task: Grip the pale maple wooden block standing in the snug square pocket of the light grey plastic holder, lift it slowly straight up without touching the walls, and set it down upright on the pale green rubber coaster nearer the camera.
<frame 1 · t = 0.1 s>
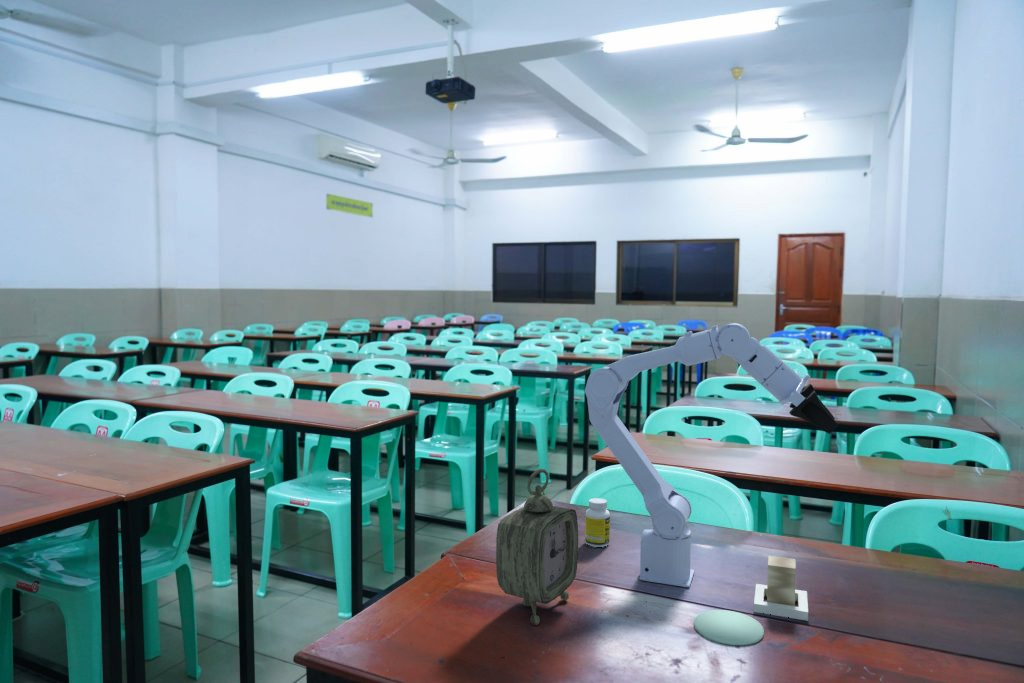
hand: (832, 425, 120), 32 cm above the table, tool tilted 50°, fingers open, 7 cm apart
supplement bottle: (597, 544, 151), on the table
tabletop clock: (536, 609, 120), on the table
lemon: (543, 530, 160), on the table
coaster: (728, 628, 113), on the table
maple block: (781, 583, 121), in the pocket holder
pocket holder: (780, 605, 121), on the table
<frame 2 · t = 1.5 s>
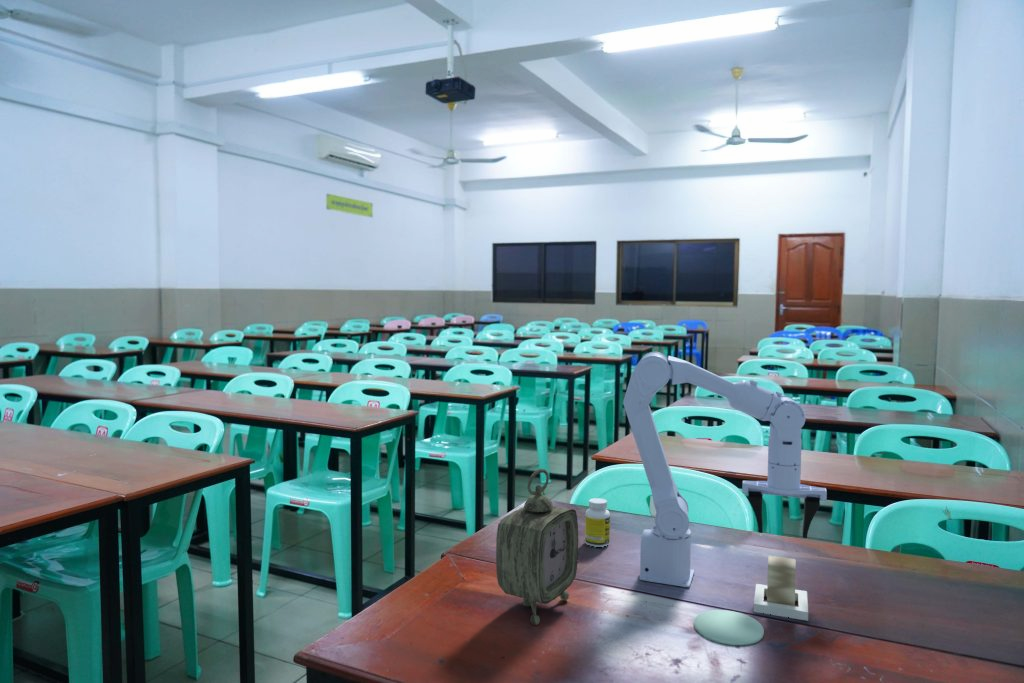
hand: (782, 533, 128), 10 cm above the table, tool pointing down, fingers open, 7 cm apart
nothing on the table moved.
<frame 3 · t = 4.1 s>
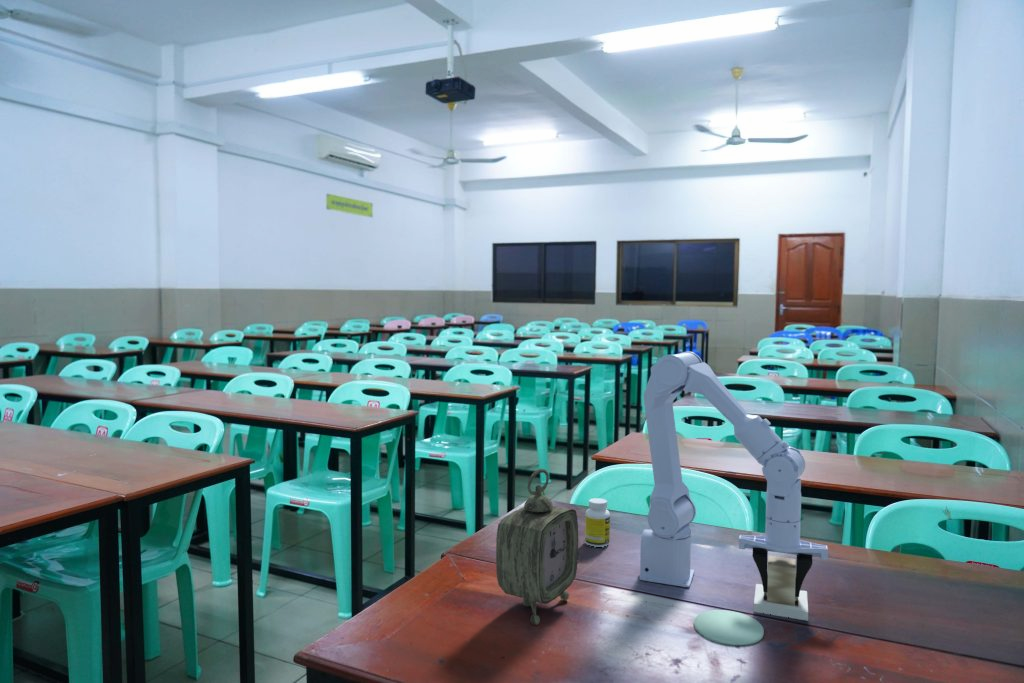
hand: (781, 592, 121), 2 cm above the table, tool pointing down, fingers closed on maple block, 4 cm apart
maple block: (781, 583, 121), in the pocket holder, touching gripper
everything else where it was.
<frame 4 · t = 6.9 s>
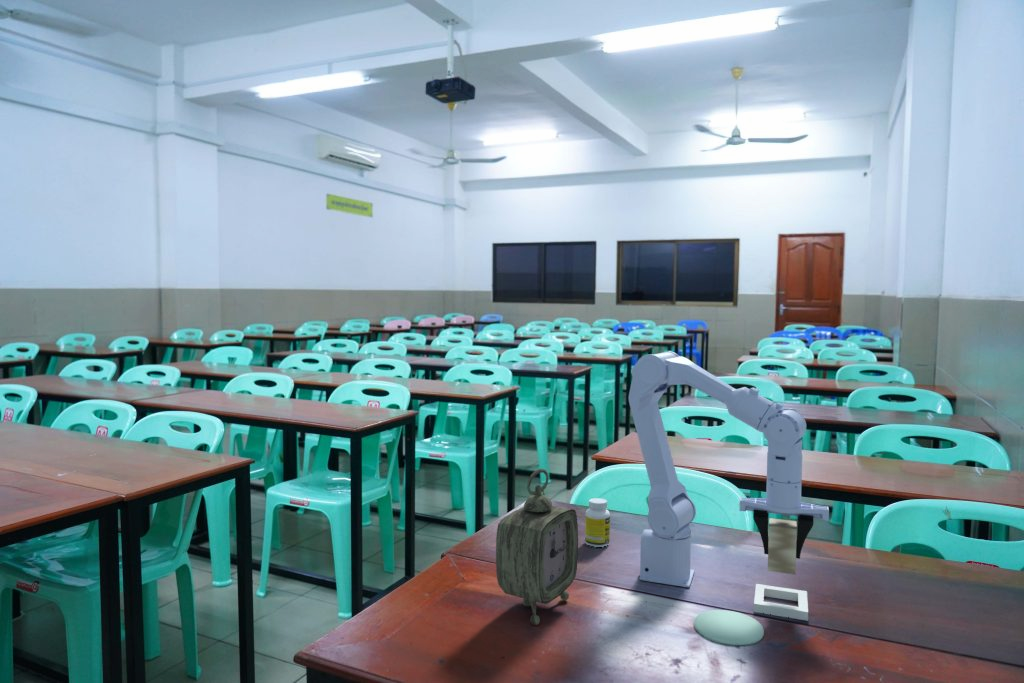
hand: (782, 554, 120), 9 cm above the table, tool pointing down, fingers closed on maple block, 4 cm apart
maple block: (782, 545, 120), point 11 cm above the table, touching gripper
everything else where it was.
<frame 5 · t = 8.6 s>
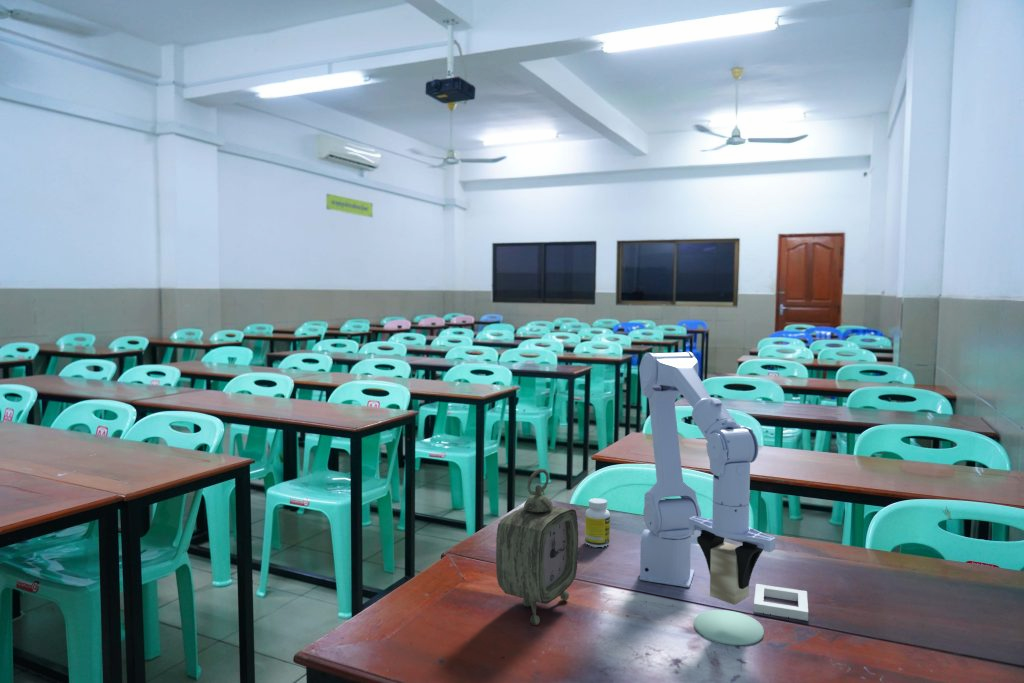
hand: (729, 582, 112), 8 cm above the table, tool pointing down, fingers closed on maple block, 4 cm apart
maple block: (729, 572, 112), point 10 cm above the table, touching gripper
everything else where it was.
when the fingers open (4 cm above the table, at t = 10.0 s): maple block drops 1 cm, resting on coaster.
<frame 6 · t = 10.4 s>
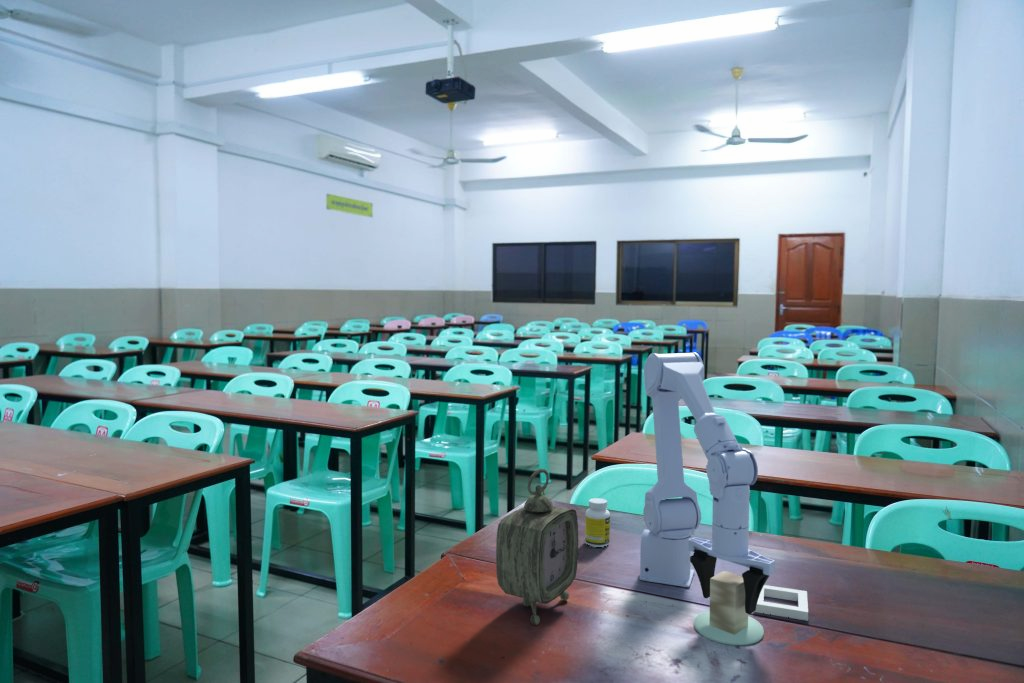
hand: (728, 603, 113), 4 cm above the table, tool pointing down, fingers open, 7 cm apart
maple block: (729, 601, 113), on the coaster
everything else where it was.
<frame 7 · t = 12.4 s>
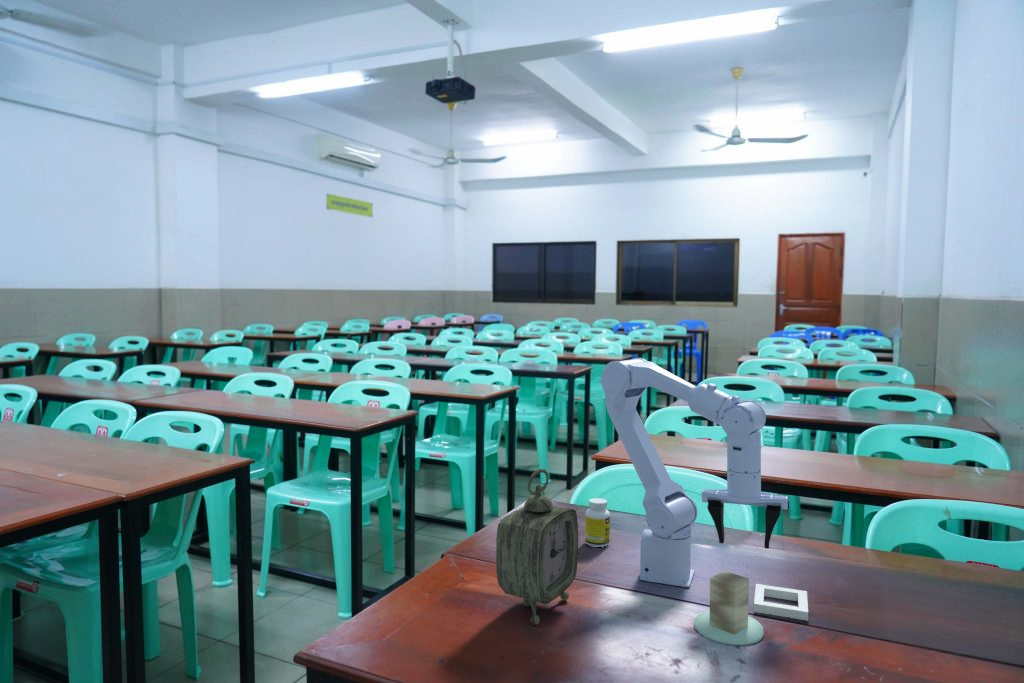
hand: (744, 544, 122), 10 cm above the table, tool pointing down, fingers open, 7 cm apart
nothing on the table moved.
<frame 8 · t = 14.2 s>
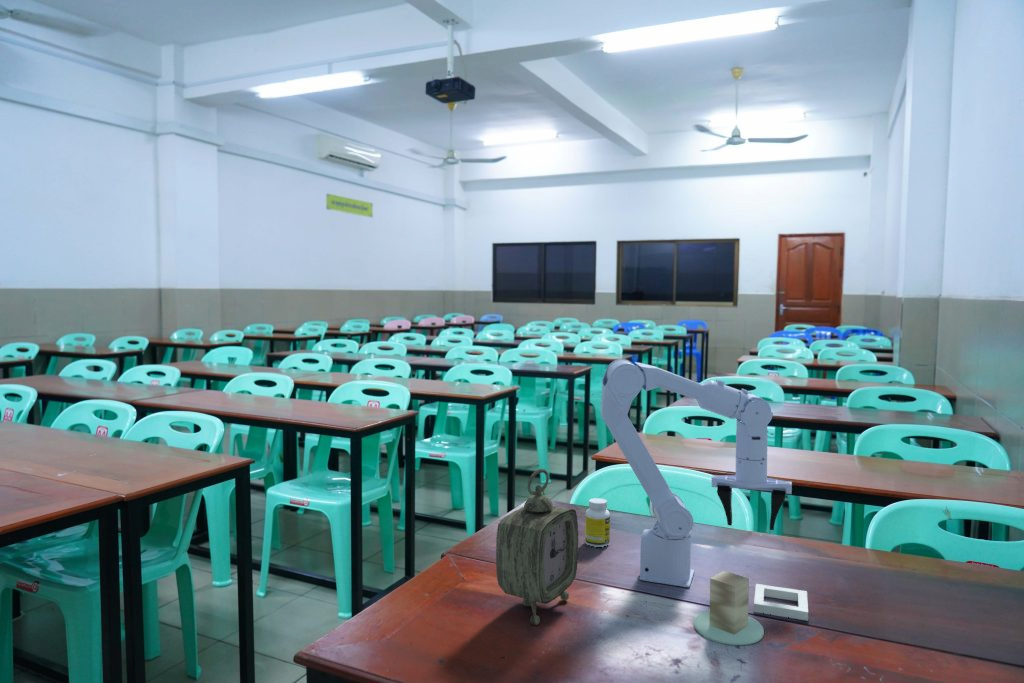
hand: (750, 526, 132), 10 cm above the table, tool pointing down, fingers open, 7 cm apart
nothing on the table moved.
at the end: maple block 0.1 cm off-centre on the coaster, point 4.5 cm above the coaster's base; maple block tilted 0°; the gripper is holding nothing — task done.
